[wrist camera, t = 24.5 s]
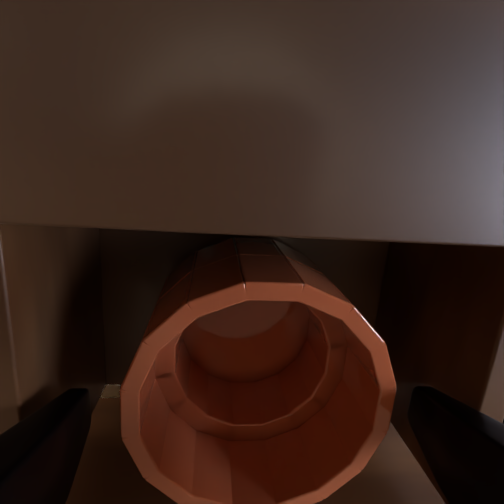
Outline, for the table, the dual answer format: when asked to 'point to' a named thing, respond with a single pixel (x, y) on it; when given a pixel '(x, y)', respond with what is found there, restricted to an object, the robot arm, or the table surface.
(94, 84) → the cabinet
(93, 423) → the drawer
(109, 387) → the table surface
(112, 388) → the table surface
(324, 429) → the bowl
